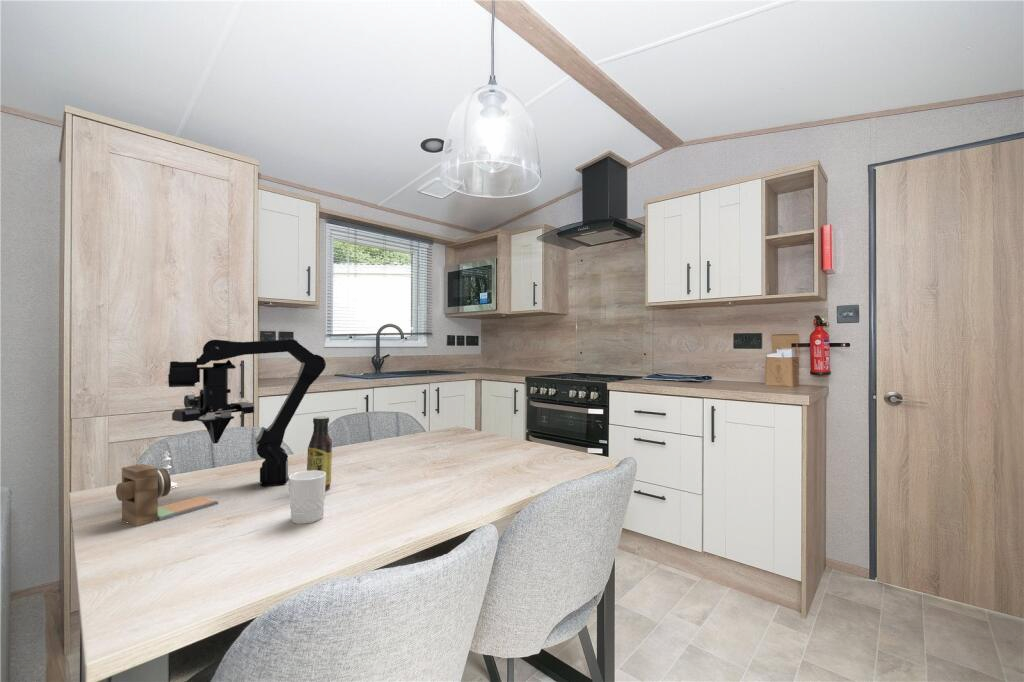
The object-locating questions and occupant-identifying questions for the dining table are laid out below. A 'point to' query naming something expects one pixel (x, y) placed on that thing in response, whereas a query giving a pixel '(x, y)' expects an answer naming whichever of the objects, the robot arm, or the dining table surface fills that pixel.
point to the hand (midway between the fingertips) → (215, 443)
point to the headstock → (141, 495)
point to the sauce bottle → (320, 449)
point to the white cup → (307, 496)
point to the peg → (128, 488)
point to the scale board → (184, 507)
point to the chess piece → (166, 466)
